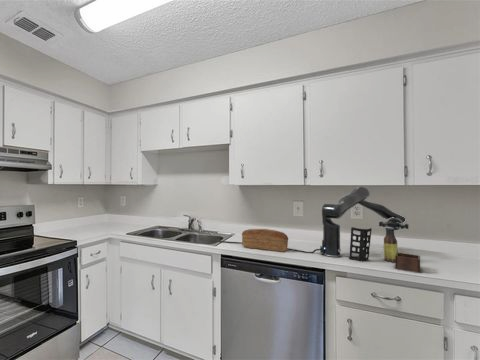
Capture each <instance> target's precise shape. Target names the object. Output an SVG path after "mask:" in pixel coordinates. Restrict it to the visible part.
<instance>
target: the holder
mask: <svg viewBox="0 0 480 360" xmlns="http://www.w3.org/2000/svg"><path fill="white" fill-rule="evenodd" d="M354 231H355V232H359V234H357V233H354ZM372 231H373V229H372V227H370V228H357V227H353V226H352V227H350V241H349V256H348V258H349V260H356V261H360V262H366V261H368V260H369V258H370V249H371V239H372ZM368 233H369V234H368ZM354 237H355V239H354ZM353 243H358V244H359V245H355V244H353ZM353 248H355V249H354V250H353ZM353 254H358V256H357V255H355V256H354V255H353Z"/></svg>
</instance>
